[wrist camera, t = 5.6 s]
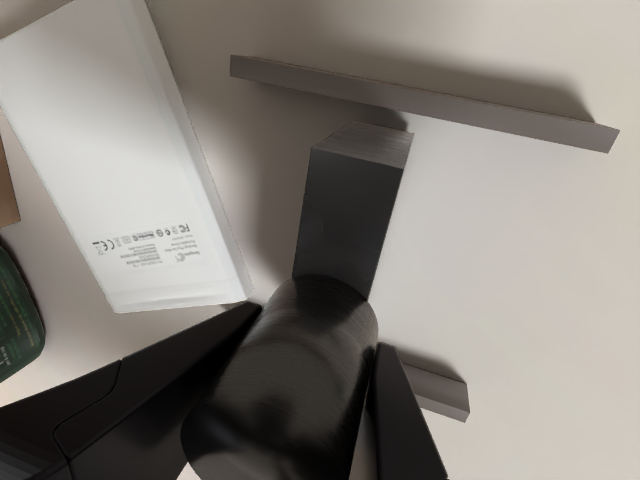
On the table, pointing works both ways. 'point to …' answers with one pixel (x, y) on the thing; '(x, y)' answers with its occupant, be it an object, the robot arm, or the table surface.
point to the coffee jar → (17, 321)
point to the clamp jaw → (308, 329)
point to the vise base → (588, 135)
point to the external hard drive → (121, 156)
